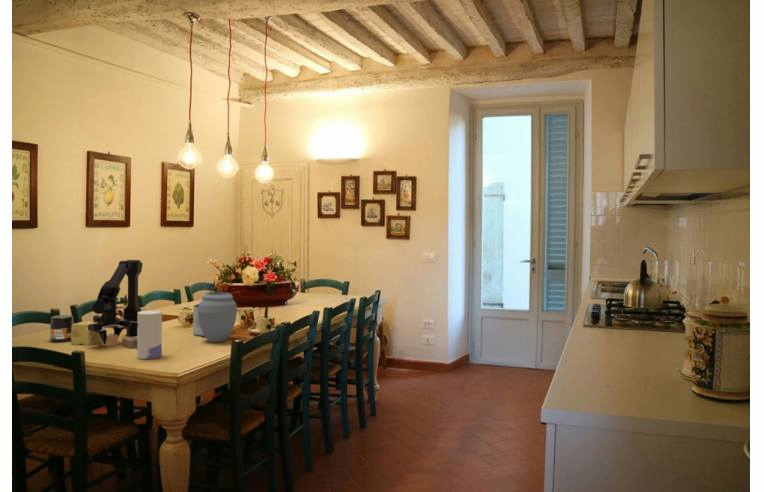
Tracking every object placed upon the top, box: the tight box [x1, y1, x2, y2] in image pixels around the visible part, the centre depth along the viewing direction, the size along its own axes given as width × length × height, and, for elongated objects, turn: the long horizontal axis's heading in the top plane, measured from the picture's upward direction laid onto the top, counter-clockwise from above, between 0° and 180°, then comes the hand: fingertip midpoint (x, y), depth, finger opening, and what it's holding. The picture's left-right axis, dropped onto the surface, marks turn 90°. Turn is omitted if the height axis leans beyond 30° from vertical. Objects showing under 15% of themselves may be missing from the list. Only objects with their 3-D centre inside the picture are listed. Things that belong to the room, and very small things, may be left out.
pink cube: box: [101, 333, 119, 348], centre depth 274 cm, size 5×5×5 cm
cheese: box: [70, 320, 102, 346], centre depth 278 cm, size 10×11×10 cm
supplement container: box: [49, 314, 75, 343], centre depth 282 cm, size 10×10×12 cm
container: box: [136, 310, 163, 360], centre depth 252 cm, size 10×10×20 cm
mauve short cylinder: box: [121, 336, 137, 350], centre depth 273 cm, size 8×8×4 cm
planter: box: [192, 303, 205, 337], centre depth 306 cm, size 16×16×16 cm
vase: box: [197, 291, 238, 343], centre depth 288 cm, size 20×20×24 cm
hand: (109, 342), depth 274 cm, fingers closed on pink cube, 5 cm apart
